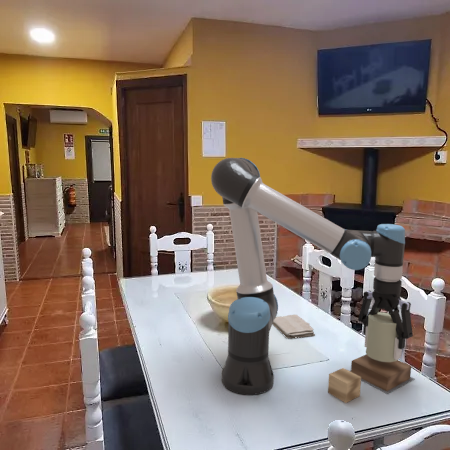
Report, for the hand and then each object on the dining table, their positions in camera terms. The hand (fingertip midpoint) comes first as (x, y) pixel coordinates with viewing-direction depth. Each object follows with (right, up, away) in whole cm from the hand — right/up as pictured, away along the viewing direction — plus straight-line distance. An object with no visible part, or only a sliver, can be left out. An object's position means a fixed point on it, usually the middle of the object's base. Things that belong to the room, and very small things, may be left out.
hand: (382, 351), depth 120 cm
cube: (-14, -9, -9) cm, 19 cm away
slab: (0, -7, +1) cm, 8 cm away
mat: (0, -8, +1) cm, 8 cm away
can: (0, -1, 0) cm, 1 cm away
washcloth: (-21, -3, +36) cm, 42 cm away
